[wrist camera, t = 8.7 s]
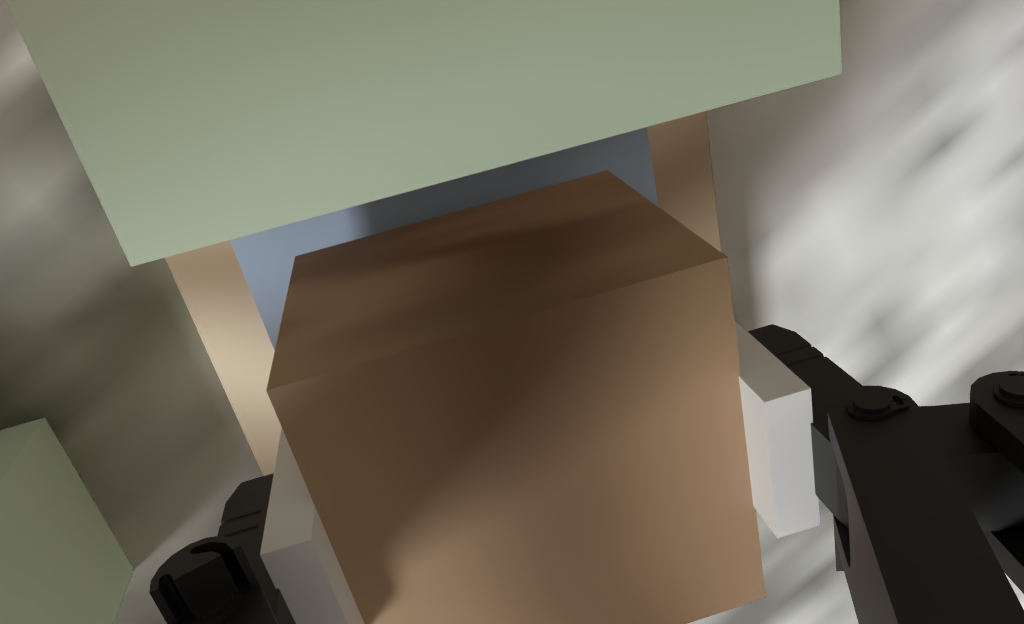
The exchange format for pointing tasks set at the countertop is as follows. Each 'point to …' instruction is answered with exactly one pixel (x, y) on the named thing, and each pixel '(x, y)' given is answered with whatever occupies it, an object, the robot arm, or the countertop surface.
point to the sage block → (53, 537)
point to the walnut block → (524, 414)
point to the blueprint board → (270, 254)
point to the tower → (378, 93)
